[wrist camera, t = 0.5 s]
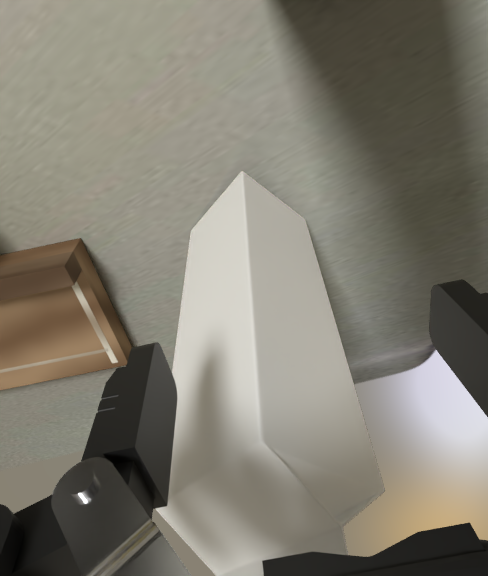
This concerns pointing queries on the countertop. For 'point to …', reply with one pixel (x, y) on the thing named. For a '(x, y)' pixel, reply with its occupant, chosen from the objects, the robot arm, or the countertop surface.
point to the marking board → (55, 316)
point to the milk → (262, 395)
